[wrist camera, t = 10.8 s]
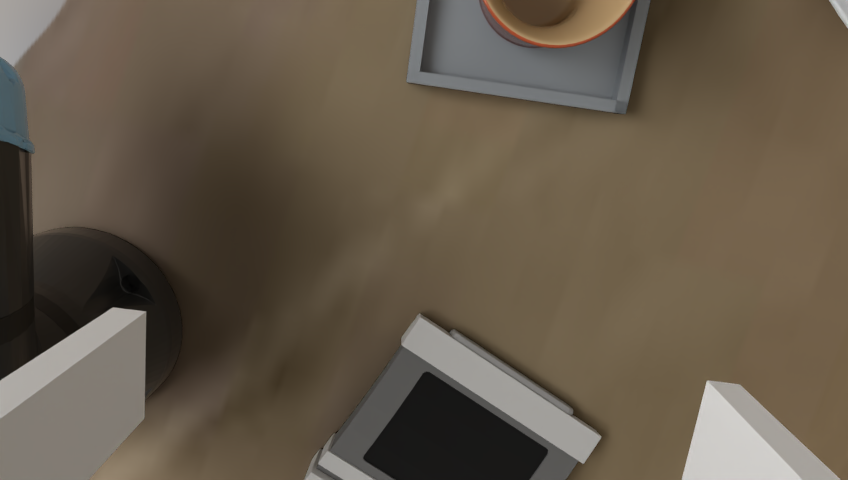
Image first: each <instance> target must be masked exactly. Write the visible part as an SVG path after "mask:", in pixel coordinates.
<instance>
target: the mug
mask: <svg viewBox="0 0 848 480" xmlns="http://www.w3.org/2000/svg"><path fill="white" fill-rule="evenodd" d="M634 1H635V0H479V3H480V7H481V10H482V12H483V15H484V17H485V19H486V20H487V22H488V24H489V25H490V26H491V28H492V29H493V30H494V31H495V32H496V33H497V34H498V35H499V36H500V37H502V38H503V39H505V40H506V41H508V42H510V43H512V44H515V45H518V46H521V47H526V48H543V47H546V48H567V47H573V46H577V45H581V44H584V43H587V42H589V41H591V40H593V39H596V38H598V37H599V36H601V35H602V34H604V33H606V32H607V31H608V30H610V29H611V28H612V27H613V26H615V25H616V24H617V23H618V22H619V21H620V20H621V19H622V18H623V16H624V15H625V14H626V13H627V12H628V10H629V9H630V8H631V6H632V4H633V3H634Z"/></svg>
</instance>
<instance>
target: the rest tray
mask: <svg viewBox="0 0 848 480" xmlns="http://www.w3.org/2000/svg"><path fill="white" fill-rule="evenodd" d="M650 1H651V0H635V1H634V3H633V4H632V6H631V8H630V9H629V10H628V12H627V13H626V14H625V15H624V16H623V18H622V19H621V20H620V21H619V22H618V23H617V24H616V25H615V26H613V27H612V28H611V29H610V30H608V31H607V32H606V33H604V34H602V35H601V36H599V37H598V38H596V39H593V40H591V41H589V42H587V43H584V44H581V45H577V46H573V47H567V48H546V47H543V48H526V47H521V46H518V45H515V44H512V43H510V42H508V41H506V40H505V39H503V38H502V37H500V36H499V35H498V34H497V33H496V32H495V31H494V30H493V29H492V28H491V26H490V25H489V24H488V22H487V20H486V19H485V17H484V15H483V12H482V10H481V7H480V3H479V0H417V5H416V13H415V20H414V28H413V35H412V43H411V51H410V58H409V66H408V73H407V81H406V82H408V83H414V84H420V85H427V86H434V87H441V88H448V89H454V90H461V91H468V92H475V93H482V94H488V95H495V96H502V97H509V98H516V99H522V100H529V101H536V102H543V103H549V104H556V105H563V106H570V107H577V108H583V109H590V110H597V111H604V112H611V113H617V114H626V111H627V106H628V102H629V97H630V93H631V88H632V83H633V79H634V74H635V70H636V65H637V60H638V56H639V51H640V47H641V42H642V37H643V33H644V28H645V24H646V19H647V14H648V10H649V5H650Z"/></svg>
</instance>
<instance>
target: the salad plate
mask: <svg viewBox="0 0 848 480" xmlns="http://www.w3.org/2000/svg"><path fill="white" fill-rule="evenodd" d="M829 1H830V3H831V4H832V6H833V8H834V9H835V11H836V12H837V14H838V15H839V17H840V18H841V20H842V21H843V23H844V24H845V25H846V27H847V28H848V0H829Z"/></svg>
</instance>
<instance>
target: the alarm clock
mask: <svg viewBox="0 0 848 480" xmlns="http://www.w3.org/2000/svg"><path fill="white" fill-rule="evenodd" d="M572 414H573V408H572V407H571V406H569V405H568V404H566V403H565V402H563V401H562V400H560V399H559V398H557V397H556V396H554V395H553V394H551V393H550V392H548V391H547V390H545V389H544V388H542V387H541V386H539V385H538V384H536V383H535V382H533V381H532V380H530V379H529V378H527V377H526V376H524V375H523V374H521V373H520V372H518V371H517V370H515V369H514V368H512V367H511V366H509V365H508V364H506V363H505V362H503V361H502V360H500V359H499V358H497V357H496V356H494V355H493V354H491V353H490V352H488V351H487V350H485V349H484V348H482V347H481V346H479V345H478V344H476V343H475V342H473V341H472V340H470V339H469V338H467V337H465V336H464V335H462V334H461V333H459V332H458V331H456V330H455V329H453V330H451V331H450V332H447V331H446V330H444V329H443V328H441V327H440V326H438V325H437V324H435V323H434V322H432V321H431V320H429V319H428V318H426V317H425V316H423V315H421V314H420V313H419V314H418V315H417V317H416V318H415V320H414V321H413V322H412V324H411V325H410V326H409V328H408V329H407V330H406V332H405V333H404V335H403V336H402V337H401V346H400V347H399V349H398V350H397V352H396V353H395V354H394V356H393V357H392V359H391V360H390V362H389V363H388V365H387V366H386V367H385V369H384V370H383V372H382V373H381V374H380V376H379V377H378V379H377V380H376V381H375V383H374V384H373V386H372V387H371V388H370V390H369V391H368V392H367V394H366V395H365V396H364V398H363V399H362V400H361V402H360V403H359V405H358V406H357V407H356V409H355V410H354V411H353V413H352V414H351V415H350V417H349V418H348V419H347V420H346V422H345V423H344V424H343V426H342V427H341V428H340V430H339V431H338V432H337V434H335V433H334V434H333V435H332V436H331V437H330V439H329V440H328V441H327V443H326V444H325V446H324V448H323V450H322V449H321V448H320V449H319V450H318V452H317V453H316V455H315V456H314V457H313V459H312V461H311V463H310V466H309V469H308V471H307V474H306V476H305V479H304V480H566V478H567V477H568V476H569V474H570V473H571V471H572V470H573V468H574V467H575V465H576V464H577V462H578V461H580V462H581V463H583V464H584V463H585V461H586V460H587V458H588V457H589V455H590V454H591V452H592V451H593V449H594V448H595V446H596V445H597V443H598V442H599V440H600V439H601V436H600V435H599V433H598V432H597V431H596V430H595V429H593V428H592V427H590V426H589V425H587V424H586V423H584V422H583V421H581V420H580V419H578V418H577V417H575V416H574V415H572Z"/></svg>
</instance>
